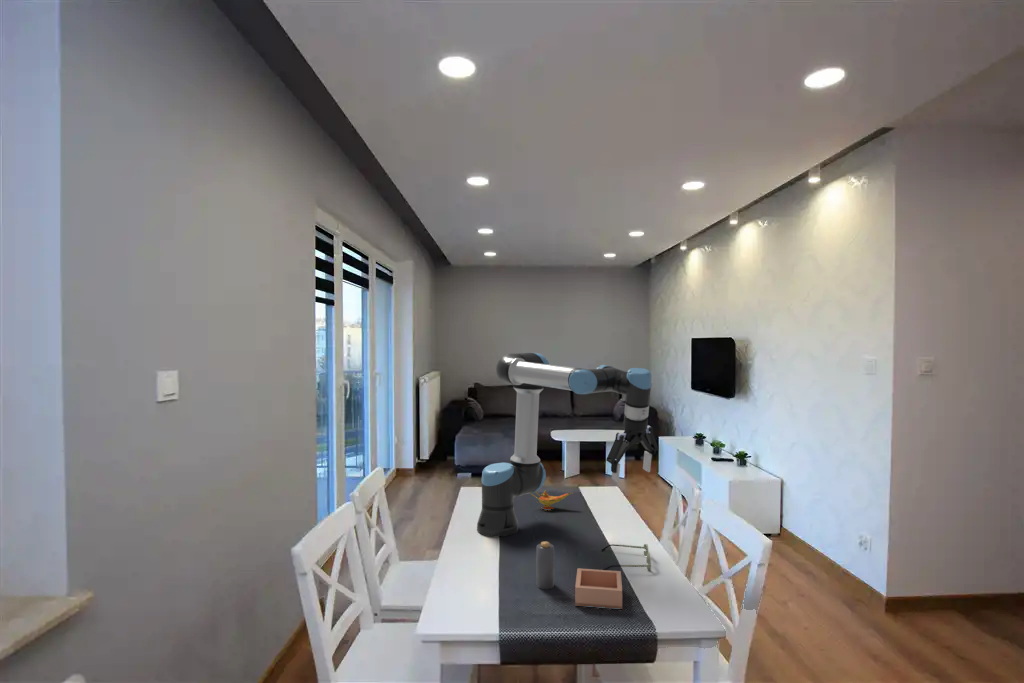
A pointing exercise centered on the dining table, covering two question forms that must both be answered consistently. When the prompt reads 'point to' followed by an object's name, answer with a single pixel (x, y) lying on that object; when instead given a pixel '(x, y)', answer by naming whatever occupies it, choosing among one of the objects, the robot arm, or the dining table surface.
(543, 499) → the magic lamp
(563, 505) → the dining table surface
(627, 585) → the dining table surface
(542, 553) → the battery cell
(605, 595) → the terracotta rectangular open box
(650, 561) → the sunglasses
